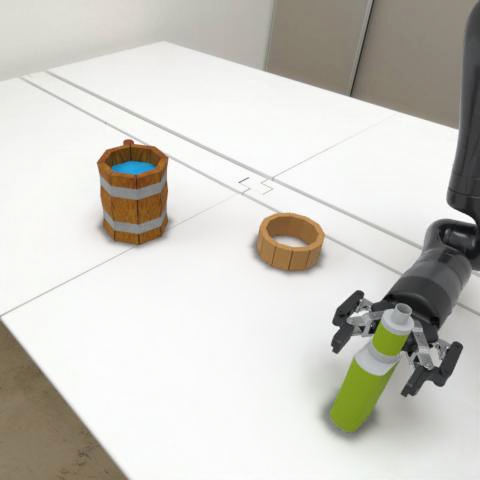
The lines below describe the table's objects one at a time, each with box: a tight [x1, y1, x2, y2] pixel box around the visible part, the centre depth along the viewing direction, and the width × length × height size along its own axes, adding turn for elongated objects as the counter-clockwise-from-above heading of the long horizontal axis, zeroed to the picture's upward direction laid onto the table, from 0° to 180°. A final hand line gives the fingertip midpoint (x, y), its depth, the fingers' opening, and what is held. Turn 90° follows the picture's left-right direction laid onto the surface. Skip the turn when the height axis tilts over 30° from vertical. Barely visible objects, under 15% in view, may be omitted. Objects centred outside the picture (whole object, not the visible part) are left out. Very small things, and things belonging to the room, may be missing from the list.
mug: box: [96, 138, 169, 246], centre depth 92 cm, size 20×14×15 cm
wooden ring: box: [256, 212, 326, 272], centre depth 86 cm, size 12×12×5 cm
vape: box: [329, 303, 414, 434], centre depth 55 cm, size 4×6×20 cm, turn 128°
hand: (369, 369), depth 54 cm, fingers open, 8 cm apart
